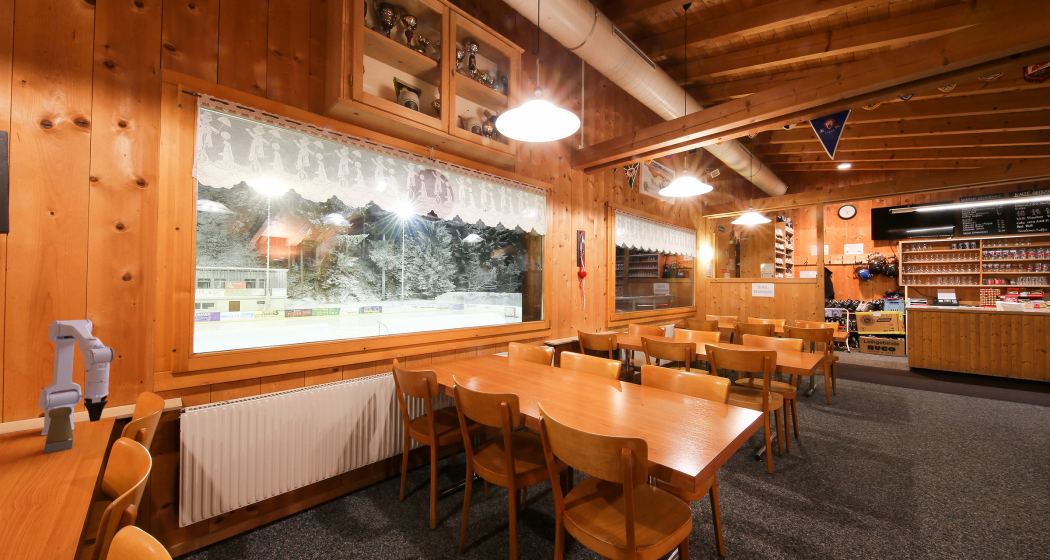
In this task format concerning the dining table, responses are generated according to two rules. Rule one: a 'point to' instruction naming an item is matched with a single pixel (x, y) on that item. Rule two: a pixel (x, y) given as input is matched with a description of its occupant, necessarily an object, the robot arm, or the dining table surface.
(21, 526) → the dining table surface
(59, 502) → the dining table surface
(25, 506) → the dining table surface
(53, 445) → the block
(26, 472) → the dining table surface
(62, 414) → the cork
